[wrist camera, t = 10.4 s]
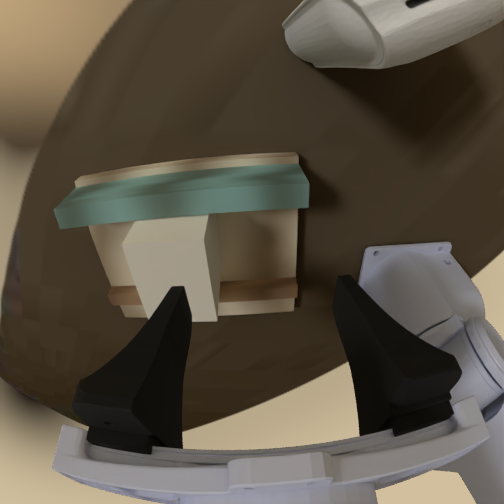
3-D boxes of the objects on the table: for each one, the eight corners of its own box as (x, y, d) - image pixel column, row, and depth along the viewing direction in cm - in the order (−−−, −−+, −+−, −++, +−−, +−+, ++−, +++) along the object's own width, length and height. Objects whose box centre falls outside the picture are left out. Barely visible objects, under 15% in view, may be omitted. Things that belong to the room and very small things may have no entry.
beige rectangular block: (213, 191, 20) (203, 239, 15) (222, 268, 23) (218, 326, 19) (150, 196, 20) (121, 244, 15) (167, 270, 23) (151, 327, 18)
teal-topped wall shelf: (296, 152, 19) (309, 174, 16) (292, 303, 27) (299, 341, 24) (80, 176, 19) (50, 202, 16) (128, 309, 27) (116, 345, 24)
